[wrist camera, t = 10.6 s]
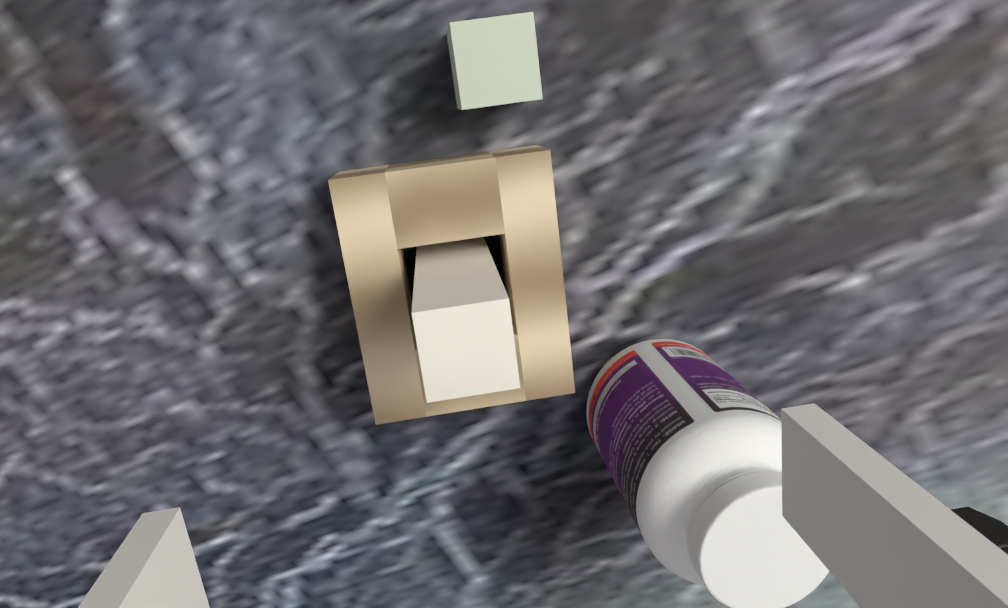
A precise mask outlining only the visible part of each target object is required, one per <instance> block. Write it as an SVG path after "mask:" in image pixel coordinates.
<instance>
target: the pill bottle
mask: <svg viewBox="0 0 1008 608" xmlns="http://www.w3.org/2000/svg"><path fill="white" fill-rule="evenodd" d="M586 415H587V424H588V428H589V431H590V434H591V437H592V439H593V441H594V443H595V445H596V447H597V449H598V451H599V453H600V455H601V457H602V459H603V461H604V463H605V464H606V466H607V468H608V470H609V472H610V474H611V476H612V478H613V480H614V482H615V484H616V486H617V488H618V490H619V491H620V493H621V495H622V497H623V499H624V501H625V503H626V505H627V507H628V509H629V511H630V513H631V515H632V517H633V519H634V521H635V523H636V525H637V527H638V529H639V531H640V532H641V534H642V536H643V538H644V540H645V542H646V544H647V545H648V547H649V549H650V550H651V551H652V553H653V554H654V556H655V557H656V558H657V559H658V560H659V561H660V562H661V563H662V564H663V565H664V566H665V567H666V568H667V569H669V570H670V571H671V572H673V573H674V574H676V575H678V576H679V577H681V578H683V579H685V580H688V581H690V582H693V583H696V584H700V585H704V586H706V587H707V589H708V590H709V592H710V593H711V594H712V595H713V596H714V597H715V598H716V599H717V600H719V601H720V602H722V603H723V604H725V605H727V606H729V607H731V608H785V607H787V606H789V605H792V604H794V603H796V602H797V601H799V600H801V599H803V598H804V597H805V596H807V595H808V594H809V593H810V592H812V591H813V590H814V589H815V588H816V587H817V586H818V585H819V584H820V583H821V582H822V580H823V579H824V578H825V576H826V575H827V574H828V572H829V570H828V569H827V568H826V566H825V565H824V564H823V563H822V562H821V561H820V559H819V558H818V557H817V556H816V555H815V554H814V552H813V551H812V550H811V549H810V548H809V546H808V545H807V544H806V543H805V542H804V541H803V539H802V538H801V537H800V536H799V535H798V534H797V532H796V531H795V530H794V529H793V528H792V527H791V525H790V524H789V523H788V522H787V521H786V520H785V518H784V517H783V516H782V425H781V419H780V418H779V417H777V416H776V415H775V414H774V413H773V412H772V411H771V410H769V409H768V408H767V407H766V406H765V405H764V404H763V403H761V402H760V401H759V400H758V399H757V398H756V397H755V396H753V395H752V394H751V393H750V392H749V391H748V390H747V389H745V388H744V387H743V386H742V385H741V384H740V383H738V382H737V381H736V380H735V379H734V378H733V377H732V376H730V375H729V374H728V373H727V372H726V371H725V370H724V369H722V368H721V367H720V366H719V365H718V364H717V363H716V362H715V361H713V360H712V359H711V358H710V357H709V356H707V355H706V354H705V353H704V352H702V351H701V350H700V349H698V348H696V347H694V346H692V345H690V344H688V343H685V342H682V341H678V340H672V339H653V340H647V341H642V342H639V343H636V344H634V345H631V346H629V347H627V348H625V349H624V350H622V351H620V352H619V353H617V354H616V355H615V356H614V357H612V358H611V359H610V360H609V361H608V362H607V363H606V364H605V365H604V366H603V368H602V369H601V370H600V372H599V373H598V375H597V376H596V378H595V380H594V382H593V384H592V386H591V389H590V392H589V395H588V400H587V408H586Z"/></svg>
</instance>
